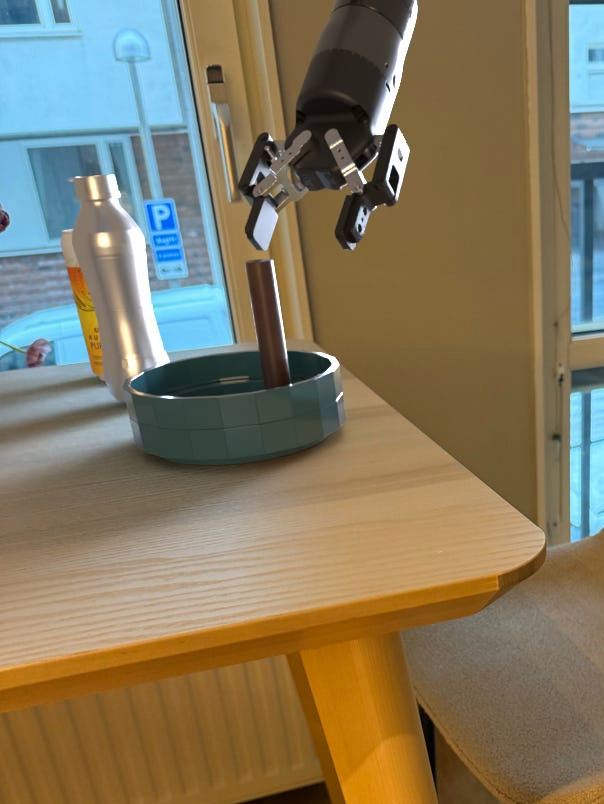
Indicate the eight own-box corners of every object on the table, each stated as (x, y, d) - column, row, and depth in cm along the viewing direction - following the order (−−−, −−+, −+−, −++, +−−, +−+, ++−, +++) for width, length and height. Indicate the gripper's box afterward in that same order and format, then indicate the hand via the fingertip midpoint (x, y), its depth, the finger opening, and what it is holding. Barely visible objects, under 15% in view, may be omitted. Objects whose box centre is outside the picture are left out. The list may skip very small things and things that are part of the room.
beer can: (96, 385, 99) (58, 233, 92) (92, 374, 104) (56, 229, 97) (154, 377, 101) (121, 227, 94) (148, 367, 106) (117, 224, 99)
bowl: (104, 473, 72) (86, 402, 69) (179, 413, 87) (167, 353, 84) (324, 466, 70) (314, 393, 68) (361, 407, 85) (354, 345, 83)
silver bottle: (176, 389, 95) (131, 172, 86) (179, 404, 90) (131, 174, 80) (111, 397, 94) (57, 177, 84) (109, 413, 88) (52, 179, 78)
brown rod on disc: (242, 437, 76) (212, 267, 69) (260, 418, 81) (233, 258, 74) (309, 434, 75) (285, 263, 69) (323, 415, 80) (302, 254, 74)
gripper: (260, 53, 79) (201, 213, 75) (409, 37, 74) (353, 209, 70) (303, 123, 86) (251, 273, 82) (442, 113, 80) (393, 273, 77)
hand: (298, 244), depth 76 cm, fingers open, 8 cm apart
